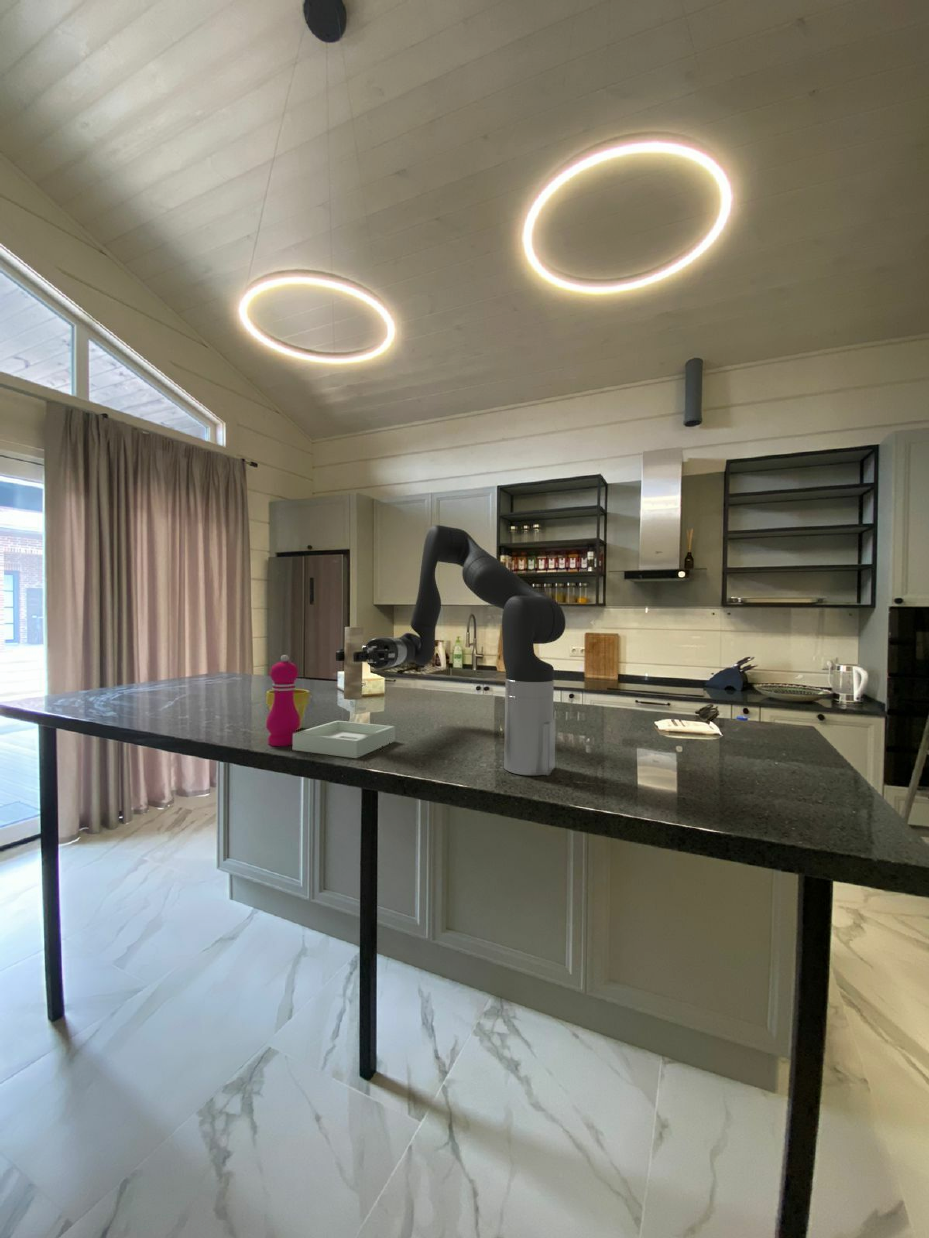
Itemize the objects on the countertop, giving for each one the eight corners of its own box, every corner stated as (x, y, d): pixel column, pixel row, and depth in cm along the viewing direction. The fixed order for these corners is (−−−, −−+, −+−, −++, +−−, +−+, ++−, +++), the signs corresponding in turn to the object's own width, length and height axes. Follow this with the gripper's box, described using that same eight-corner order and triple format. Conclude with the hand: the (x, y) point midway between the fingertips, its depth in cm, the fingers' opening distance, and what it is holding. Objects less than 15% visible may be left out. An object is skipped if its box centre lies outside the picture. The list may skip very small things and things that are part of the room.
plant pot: (312, 725, 132) (313, 688, 132) (302, 733, 122) (303, 693, 122) (273, 725, 132) (273, 688, 132) (259, 733, 121) (260, 693, 122)
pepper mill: (304, 739, 116) (306, 654, 116) (291, 747, 109) (293, 656, 109) (275, 738, 116) (277, 653, 117) (259, 746, 109) (261, 655, 109)
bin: (394, 741, 116) (394, 726, 116) (356, 758, 101) (356, 740, 101) (336, 734, 122) (337, 720, 122) (292, 749, 107) (292, 733, 107)
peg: (365, 697, 113) (366, 627, 113) (355, 700, 109) (356, 627, 109) (350, 696, 114) (351, 626, 114) (340, 698, 111) (341, 627, 111)
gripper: (362, 636, 128) (319, 638, 112) (411, 638, 122) (374, 640, 106) (361, 665, 128) (319, 671, 112) (411, 668, 122) (373, 675, 106)
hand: (346, 656), depth 109 cm, fingers closed on peg, 4 cm apart
